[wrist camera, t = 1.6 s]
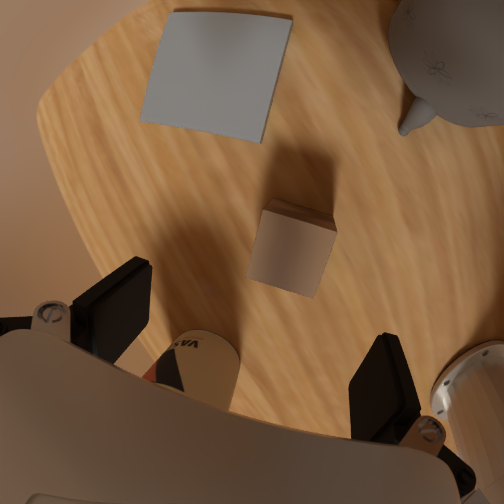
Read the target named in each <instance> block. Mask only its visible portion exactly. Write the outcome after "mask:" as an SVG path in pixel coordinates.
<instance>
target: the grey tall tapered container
mask: <svg viewBox="0 0 504 504" xmlns="http://www.w3.org/2000/svg"><path fill="white" fill-rule="evenodd" d="M388 41H389V47H390V52H391V55H392V58H393V61H394V64H395V66H396V68H397V70H398V72H399V74H400V76H401V77H402V79H403V80H404V82H405V83H406V85H407V86H408V88H409V89H410V90H411V91H412V93H413V94H414V95H415V96H416V99H415V100H414V101H413V103H412V105H411V107H410V109H409V111H408V113H407V115H406V117H405V119H404V121H403V122H402V124H401V126H400V127H399V130H398V131H399V133H400V135H402V136H406V135H407V134H408V133H409V132H410V131H411V130H413V129H416V128H419V127H422V126H424V125H426V124H427V123H429V122H430V121H431V120H432V119H433V118H434V117H435V116H436V114H437V115H438V116H440V117H441V118H443V119H445V120H447V121H449V122H451V123H454V124H457V125H460V126H464V127H484V126H497V125H504V0H401V2H400V3H399V5H398V7H397V9H396V10H395V12H394V14H393V16H392V18H391V20H390V24H389V30H388Z"/></svg>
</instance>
